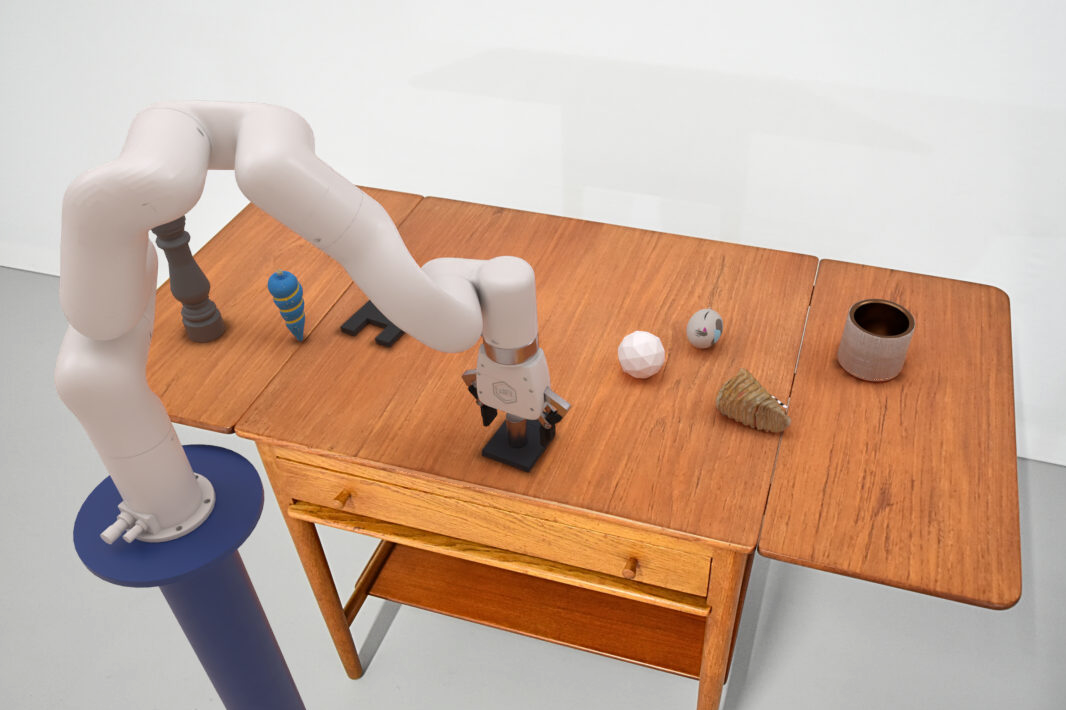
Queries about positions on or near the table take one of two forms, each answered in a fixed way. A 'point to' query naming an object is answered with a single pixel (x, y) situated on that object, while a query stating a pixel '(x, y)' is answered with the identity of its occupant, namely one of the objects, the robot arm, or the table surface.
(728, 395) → the fossil
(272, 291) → the ornament
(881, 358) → the planter
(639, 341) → the geometric ball
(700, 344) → the figurine
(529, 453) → the tab pad
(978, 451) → the table surface
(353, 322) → the notch pad
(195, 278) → the candle holder
